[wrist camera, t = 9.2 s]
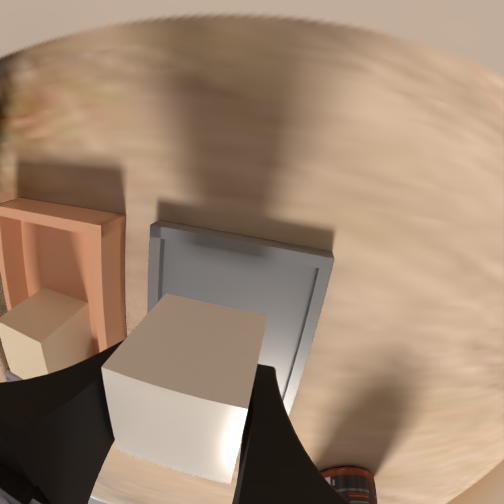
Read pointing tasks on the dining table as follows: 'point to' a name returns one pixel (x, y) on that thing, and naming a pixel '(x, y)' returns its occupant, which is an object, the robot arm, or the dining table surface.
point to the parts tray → (246, 287)
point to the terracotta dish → (66, 260)
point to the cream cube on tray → (185, 385)
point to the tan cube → (46, 334)
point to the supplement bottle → (352, 484)
